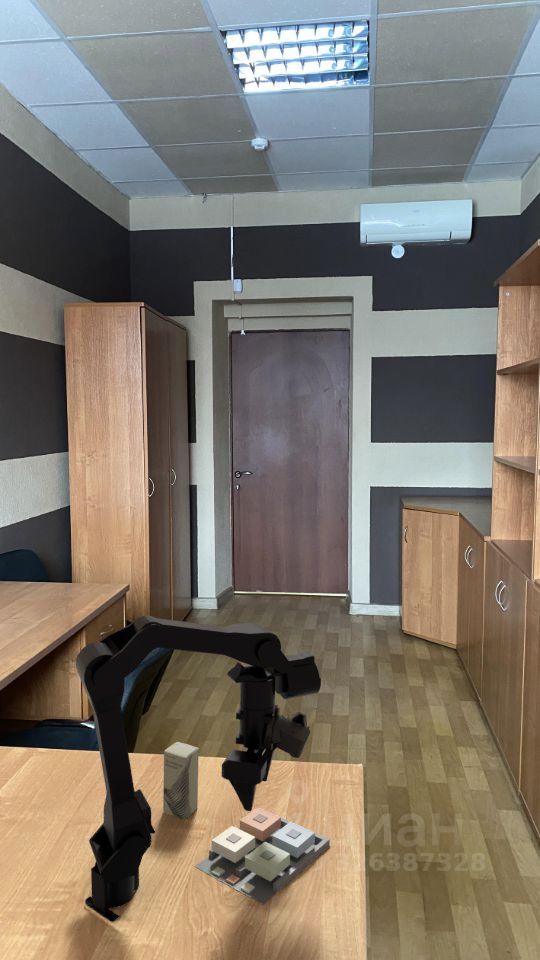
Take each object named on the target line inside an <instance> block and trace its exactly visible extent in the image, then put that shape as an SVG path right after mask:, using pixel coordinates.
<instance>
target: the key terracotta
mask: <svg viewBox="0 0 540 960" xmlns="http://www.w3.org/2000/svg"><path fill="white" fill-rule="evenodd" d="M281 818H282V817H281V816H279V815H276V814H274V813H272V812H270V811H268V810H266V809H263V808H261V807H256V808H255V809H252V810H251V811H250V812H249V813H247V814H246V815H245V816H244V817H242V818H240V820H239V828H240V830H242V831H244V832H246V833H248V834H250V835H252V836H254V837H255V838H257V839H259V840H261V841H264V840H265V839H267V838H268V837H269V836H270V835H272V834H273V833H274V832H275V831H277V830H278V829H279V828H281Z"/></svg>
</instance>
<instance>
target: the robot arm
mask: <svg viewBox="0 0 540 960" xmlns="http://www.w3.org/2000/svg"><path fill="white" fill-rule="evenodd" d="M156 649H167V650H173V651H174V650H175V651H185V652H193V653H200V654H201V653H202V654H209V655H210V654H213V655H221V656H226V657H229V658H231V659H234V660H236V661H237V662H236V663H235V665H234V667H232V668H231V669H230V670H228V672H227V673H226V675H227V676H228V677H229V679H231V680H232V682H234V683H235V684H239V708H238V709H237V711H236V713H235V719H236V720H239V732H238V734H237V736H236V737H235V744H237V745H242V746H243V747H244V748H245V749H247V750H239V749H233V750H232V751H231V752H229V753H228V755H226V757H225V758H224V761H223V763H222V764H221V777H222V779H225V780H227V781H228V782H229V783H230V785H231V786H232V788H233V790H234V792H235V793H236V795H237V797H238V800H239V801H240V803H241V806H242V807H243V810H245V811H247V812H252V811H253V807H254V802H255V796H256V792H257V791H256V790H257V785H259V784H261V783H262V782H267V780H268V778H269V777H268V776H269V774H270V773H269V772H270V769H271V765H272V761H273V759H274V758H273V756H274V753H275V750H276V749H279V750H281V751H283V752H285V753H287V754H289V756H290V757H292V758H295V759H299V758H300V757H301V756H302V753H303V751H304V749H305V746H306V744H307V742H308V739H309V736H310V734H311V730H310V728H311V726H309V725H308V722H307V721H308V720H307V715H306V714H305V713H302V712H300V711H298V712H296V713H295V714H293V716H288V715H287V717H285V716H284V715H283V714H281V713H280V710H281V709H280V707H279V705H278V704H276V694H279V695H280V697H281V698H282V699H283V700H290V699H294V698H301V697H305V696H312V695H315V694H319V692H320V690H321V686H322V678H321V677H320V672H319V671H320V670H319V669H318V666H317V665H316V663H315V662H316V661H315V660H316V659H315V656H314V655H313V654H312V653H310V652H303V653H301V654H296V655H291V656H285V654H284V652H283V651H282V643H281V640H280V639H279V637H278V635H277V634H275V633H274V632H272V631H270V630H269V629H268V628H266V627H264V626H263V625H262V624H260V623H257V622H240V623H237V622H236V623H233V624H230V625H224V626H219V625H213V624H212V625H211V624H203V623H196V622H188V621H187V622H186V621H182V620H181V621H180V620H173V619H166V618H165V619H164V618H159V617H158V618H157V617H154V616H151V615H149V614H147V615H142V616H140V617H138V618H136V619H135V620H134V621H132V622H131V623H130V624H128V625H126V626H123V627H121V628H119V629H117V630H115V631H113V632H109V634H106V636H104V637H103V638H102V639H100V640H99V641H97V642H96V641H95V642H91V643H89V644H86V645H85V646H84V647H83V648H82V649H80V651H79V653H78V654H77V655H76V656H75V657H76V658H75V668H76V672H77V674H78V677H79V679H80V681H81V684H82V686H83V689H84V691H85V693H86V696H87V699H88V701H89V703H90V705H91V709H92V715H93V721H94V725H95V732H96V733H95V734H96V737H97V738H96V739H97V742H98V743H97V745H98V748H99V755H100V756H99V757H100V760H101V761H100V762H101V769H102V773H103V779H104V780H103V781H104V786H105V791H106V792H105V794H106V796H105V799H104V804H103V823H102V824H101V825H100V826H99V827H98V829H97V830H96V831H95V833H93V835H92V836H91V837H90V838H89V840H88V842H89V845H90V848H91V851H92V853H93V857H94V858H95V863H94V866H93V867H91V868H90V870H91V871H90V875H91V876H90V877H91V878H90V879H91V882H90V883H91V884H90V885H91V896H88V897H87V898H86V899H85V900H84V904H85V906H86V905H87V907H89V908H90V909H92V910H93V911H94V912H96V913H98V914H99V915H100V916H102V917H104V918H105V919H106V920H107V921H110V923H111V922H115V921H116V920H118V919H119V918H120V917H121V915H119V914H117V913H116V912H114V911H113V910H112V909H114V908H116V909H117V908H119V907H122V906H125V905H126V904H128V903H129V902H130V901H131V900H132V899H133V898H134V896H135V891H137V890H138V888H139V887H140V866H141V863H142V860H143V857H144V855H145V854H146V852H147V851H148V850H149V848H151V845H152V834H153V835H155V834H156V830H155V829H154V826H153V824H152V807H151V806H150V804H149V802H148V800H147V799H146V797H145V795H144V793H143V791H142V790H141V789H140V788H139V789H137V790H136V791H135V784H134V780H133V775H132V774H133V773H132V766H131V762H130V754H129V749H128V744H127V737H126V731H125V730H126V729H125V723H124V718H123V717H124V716H123V712H122V704H123V699H124V695H125V679H126V678H127V677H128V676H129V675H130V674H132V673H133V672H134V671H135V670H136V669H138V668H139V667H140V665H141V664H142V662H143V661H144V660H146V658H147V657H148V656H149V654H150V653H152V652H153V651H154V650H156ZM238 661H239V662H238ZM241 663H242V664H241ZM243 664H246V665H247V666H246V665H245V666H244V665H243Z"/></svg>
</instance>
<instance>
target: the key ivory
mask: <svg viewBox="0 0 540 960" xmlns="http://www.w3.org/2000/svg"><path fill="white" fill-rule="evenodd" d="M211 848H212V851H213V852H215V853H217V854H219V855H221V856H223V857H225V858H227V859H229V860H231V861H232V862H234V863H236V862H237V861H239V860H240V859H241V858H242V857H244V856H245V855H246V854H247V853H249V852H250V851H251V850H253V849H254V848H255V837H254V836H252V835H250V834H248V833H246V832H244V831H242V830H240V829H239V828H238V827H235V826H233V825H231V826H229V827H228V828H227V829H225V830H223V832H221V833H220V834H218V835H217V836H216V837H214V838H213V839H212V840H211Z"/></svg>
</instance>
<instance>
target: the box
mask: <svg viewBox="0 0 540 960" xmlns="http://www.w3.org/2000/svg"><path fill="white" fill-rule="evenodd" d="M199 750H200V748H199V747H196V746H194V745H190V744H188V743H183V742H179V741H175V742H174V743H173V744H171V745H169V747H168V748H166V749H165V750H164V751H163V797H162V798H163V800H162V806H163V807H162V812H163V813H164V814H167V815H169V816H173V817H176V818H179V819H182V820H186V819H188V818H189V817H190V816H191V815H192V814H193V813H194V812H195V811H197V809H198V796H199V794H198V793H199V792H198V791H199V790H198V789H199V788H198V787H199Z"/></svg>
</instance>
